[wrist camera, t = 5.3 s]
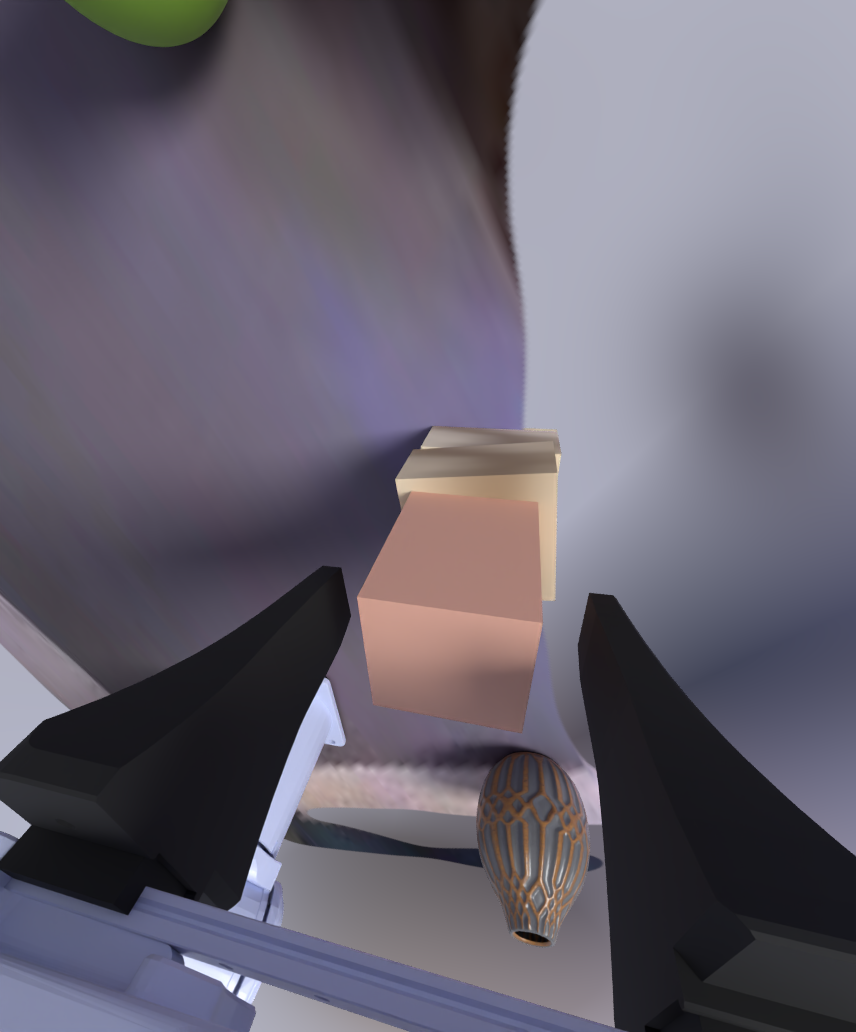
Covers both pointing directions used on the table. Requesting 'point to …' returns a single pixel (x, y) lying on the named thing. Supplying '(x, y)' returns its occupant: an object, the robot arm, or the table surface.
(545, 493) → the tower top
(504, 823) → the vase
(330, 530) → the table surface
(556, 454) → the tower base
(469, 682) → the block
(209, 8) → the snail figurine
